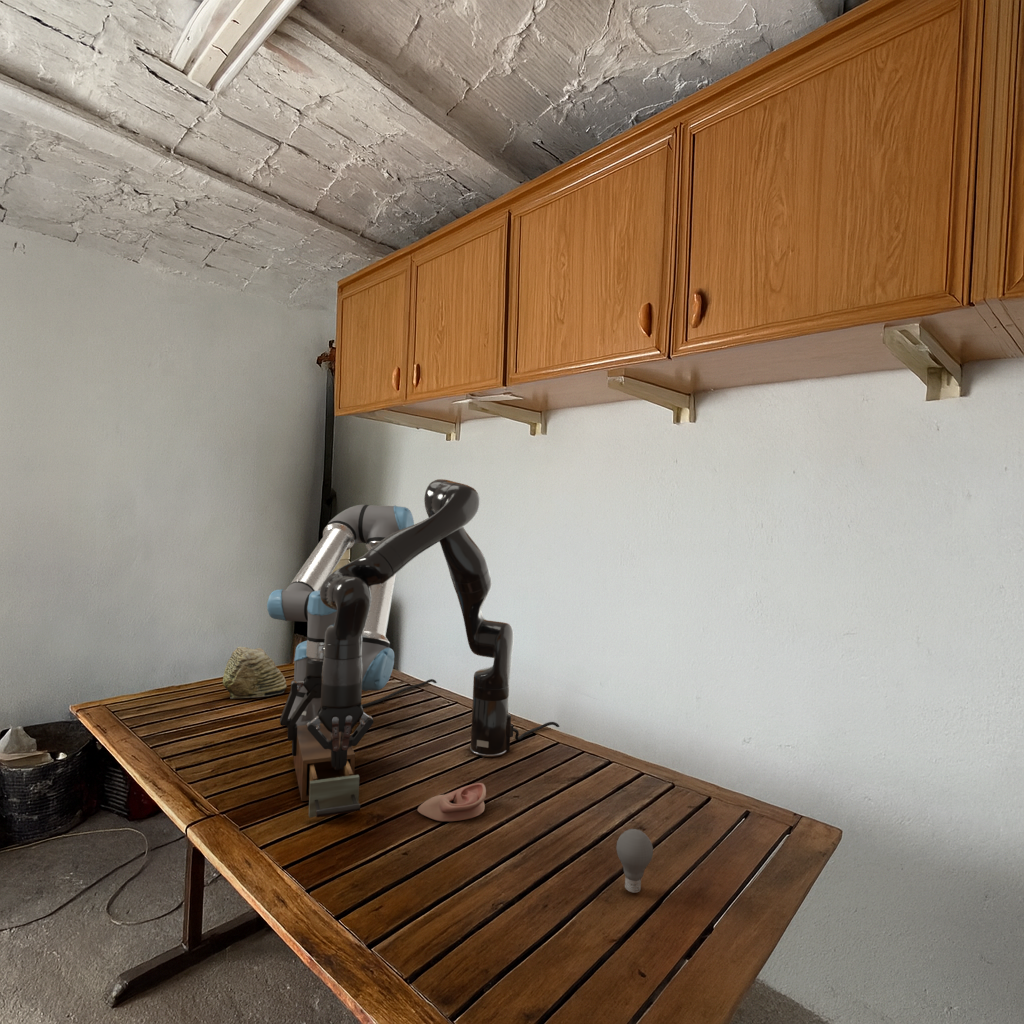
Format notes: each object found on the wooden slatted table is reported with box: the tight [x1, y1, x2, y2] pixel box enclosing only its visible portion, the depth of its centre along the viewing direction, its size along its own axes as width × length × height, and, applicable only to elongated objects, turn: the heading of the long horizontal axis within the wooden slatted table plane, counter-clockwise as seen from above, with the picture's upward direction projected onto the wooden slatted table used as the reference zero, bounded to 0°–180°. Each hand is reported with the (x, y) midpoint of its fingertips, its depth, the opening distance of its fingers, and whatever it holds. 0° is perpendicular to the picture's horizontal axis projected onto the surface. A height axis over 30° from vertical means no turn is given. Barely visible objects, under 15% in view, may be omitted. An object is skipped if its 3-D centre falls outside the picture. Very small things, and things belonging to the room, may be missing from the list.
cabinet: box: [293, 724, 356, 802], centre depth 143 cm, size 21×11×9 cm, turn 23°
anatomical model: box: [417, 782, 487, 822], centre depth 131 cm, size 13×4×12 cm
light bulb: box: [615, 828, 654, 894], centre depth 106 cm, size 6×6×10 cm
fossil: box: [222, 646, 288, 699], centre depth 198 cm, size 9×18×15 cm, turn 132°
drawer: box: [307, 759, 361, 818], centre depth 131 cm, size 25×9×7 cm, turn 23°
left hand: (319, 750), depth 148 cm, fingers closed on cabinet, 11 cm apart
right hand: (338, 768), depth 122 cm, fingers closed
